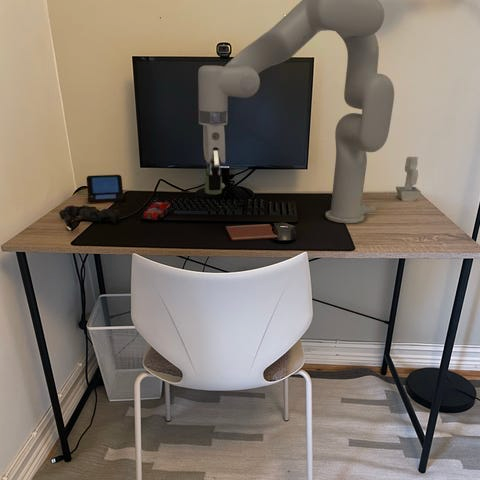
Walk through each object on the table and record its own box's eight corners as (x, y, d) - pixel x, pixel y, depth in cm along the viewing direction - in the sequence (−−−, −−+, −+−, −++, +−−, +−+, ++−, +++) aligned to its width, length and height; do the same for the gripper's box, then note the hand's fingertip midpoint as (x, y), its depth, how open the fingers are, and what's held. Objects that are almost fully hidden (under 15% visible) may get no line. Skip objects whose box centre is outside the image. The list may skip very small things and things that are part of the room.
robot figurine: (129, 215, 161) (73, 210, 165) (128, 202, 159) (72, 197, 162) (105, 233, 146) (45, 226, 149) (104, 219, 144) (42, 212, 147)
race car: (156, 222, 153) (155, 210, 151) (140, 221, 155) (139, 208, 153) (174, 211, 164) (173, 199, 162) (160, 209, 166) (159, 198, 164)
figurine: (400, 202, 175) (407, 159, 168) (393, 195, 183) (399, 154, 176) (420, 202, 175) (428, 159, 168) (412, 195, 184) (419, 154, 176)
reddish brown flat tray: (269, 224, 152) (269, 223, 152) (279, 237, 142) (279, 236, 142) (225, 227, 150) (225, 226, 150) (231, 240, 140) (231, 239, 140)
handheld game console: (87, 203, 171) (84, 182, 168) (89, 196, 181) (86, 175, 177) (124, 201, 174) (121, 180, 170) (123, 194, 183) (121, 174, 180)
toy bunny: (223, 189, 141) (223, 158, 136) (226, 194, 136) (226, 162, 132) (203, 190, 140) (203, 159, 135) (205, 194, 135) (205, 162, 131)
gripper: (232, 122, 122) (231, 194, 131) (222, 114, 136) (221, 180, 145) (202, 122, 121) (203, 195, 129) (195, 114, 135) (196, 180, 144)
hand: (213, 186), depth 137 cm, fingers closed on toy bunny, 4 cm apart
